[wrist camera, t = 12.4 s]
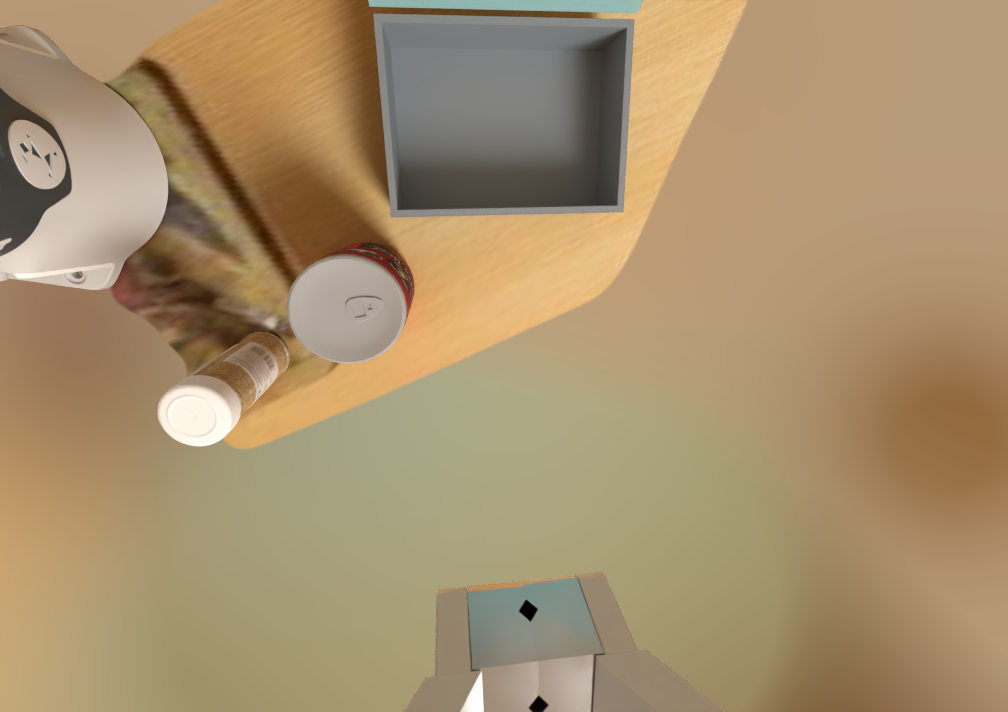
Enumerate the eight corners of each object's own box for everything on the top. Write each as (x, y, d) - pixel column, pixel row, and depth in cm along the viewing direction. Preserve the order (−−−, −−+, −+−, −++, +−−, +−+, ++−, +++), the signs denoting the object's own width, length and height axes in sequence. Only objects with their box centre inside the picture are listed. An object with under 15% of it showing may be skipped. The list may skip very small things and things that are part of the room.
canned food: (431, 299, 44) (426, 330, 33) (356, 342, 44) (330, 385, 34) (384, 224, 41) (365, 232, 31) (306, 270, 42) (261, 292, 31)
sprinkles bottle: (229, 340, 43) (139, 398, 30) (278, 323, 43) (208, 375, 30) (254, 384, 44) (177, 457, 32) (300, 368, 44) (242, 435, 32)
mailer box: (398, 215, 41) (391, 217, 36) (384, 42, 37) (373, 13, 32) (599, 210, 43) (623, 212, 38) (606, 45, 39) (634, 19, 33)
